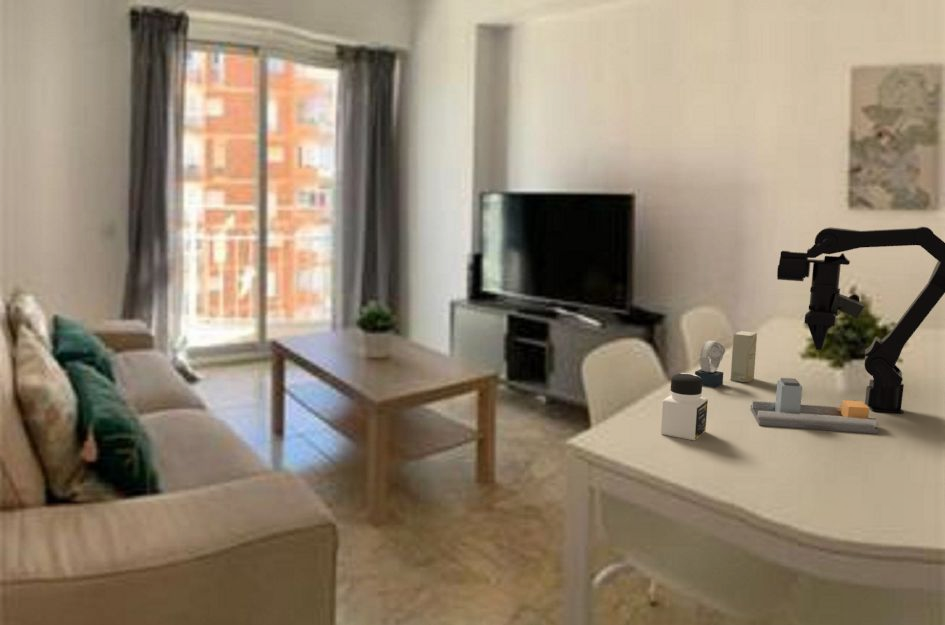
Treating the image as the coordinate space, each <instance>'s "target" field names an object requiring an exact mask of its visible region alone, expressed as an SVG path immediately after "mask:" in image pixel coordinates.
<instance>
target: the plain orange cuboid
mask: <svg viewBox="0 0 945 625" xmlns="http://www.w3.org/2000/svg"><path fill="white" fill-rule="evenodd" d="M841 402H842V403H841V407H842V410H841V414H842V415H843V416H845V417H859V418H870V417H869V415H870V408H869V407H868V406H867V405H866V404H865V401H860V400H847V399H845V400H844V399H843V400H841Z"/></svg>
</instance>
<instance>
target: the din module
mask: <svg viewBox="0 0 945 625" xmlns="http://www.w3.org/2000/svg"><path fill="white" fill-rule="evenodd" d="M776 383H777V384H776V395H775V402H776V405H775V412H786V413H800V407H801V404H802V396H803V395H802V394H803V385H801V383H800V382H799V381H798V380H797V378H795V377H793V378H791V377H780V379H777V382H776Z"/></svg>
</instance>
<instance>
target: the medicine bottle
mask: <svg viewBox="0 0 945 625" xmlns="http://www.w3.org/2000/svg"><path fill="white" fill-rule="evenodd" d="M702 381H703V380H702V378H701V377H699V376H697V375H695V373H688V372H687V373H686V372H685V373H684V372H681V373H675V374H673V375H672V376H671V377H670V391H669V392H670V393H669V394H670V395H668V397H666V398H665V399H663V400H662V408H661V424H660V434H661V435H664V436H668V437H669V436H670V437H674V438H679V439H684V440H690V441H696V440H698V438H700V437H701V436H702V435H703V434H704V433H705V432H706V429H707V428H706V426H707V415H708V403H709V402H708V400H709V399H708V398H707V397H703V396H702V392H703V385H702Z"/></svg>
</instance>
